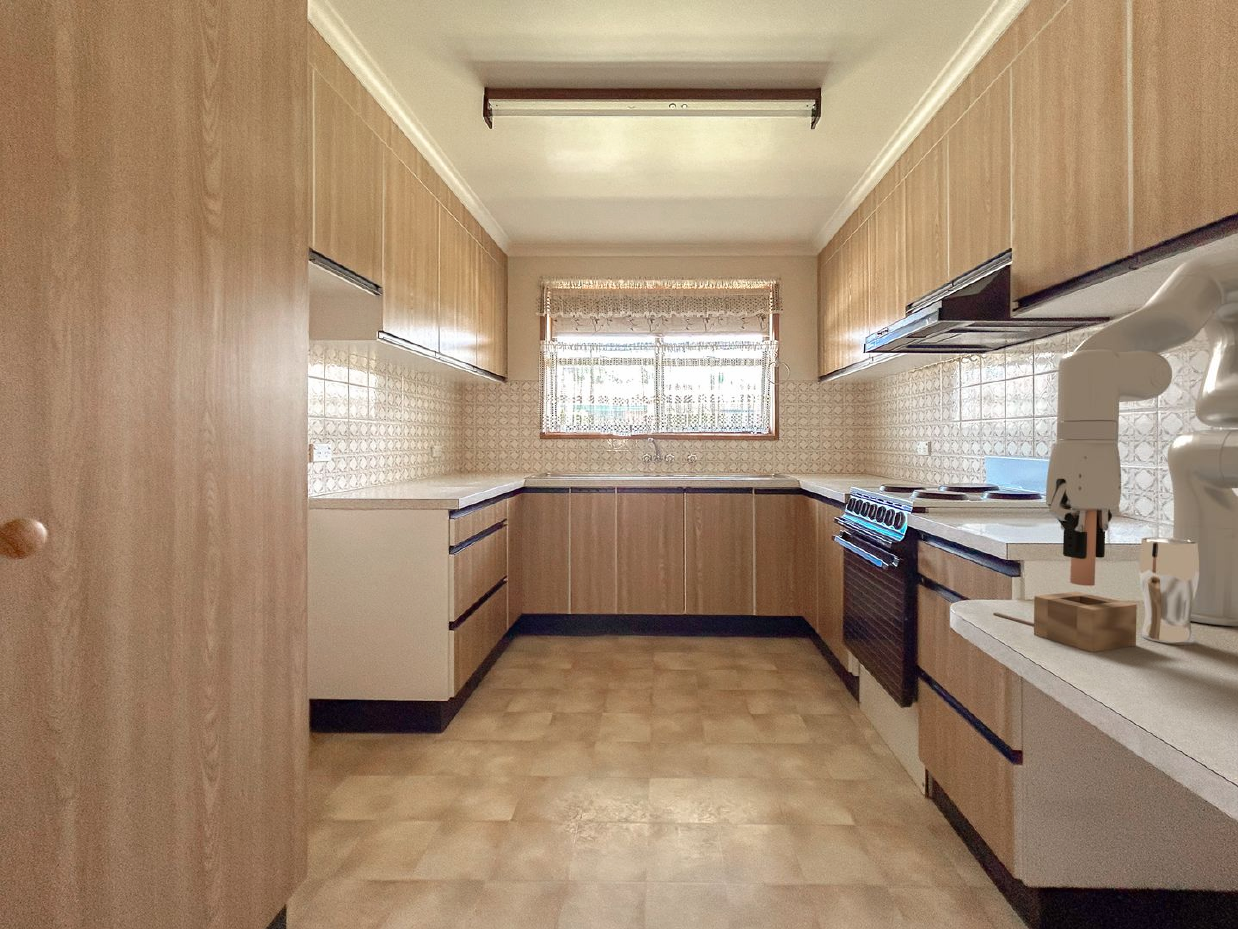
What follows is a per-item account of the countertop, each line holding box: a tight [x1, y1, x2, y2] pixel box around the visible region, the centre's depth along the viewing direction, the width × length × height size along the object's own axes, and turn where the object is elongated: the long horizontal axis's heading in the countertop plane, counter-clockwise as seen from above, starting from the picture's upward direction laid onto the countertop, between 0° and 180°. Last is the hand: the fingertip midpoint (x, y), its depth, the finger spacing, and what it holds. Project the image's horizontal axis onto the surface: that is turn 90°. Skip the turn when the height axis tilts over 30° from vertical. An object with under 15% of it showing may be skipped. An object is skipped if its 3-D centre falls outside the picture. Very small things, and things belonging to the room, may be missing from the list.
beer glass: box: [1138, 536, 1199, 646], centre depth 99 cm, size 7×7×15 cm
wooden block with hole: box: [1033, 591, 1138, 653], centre depth 99 cm, size 9×9×6 cm
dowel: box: [1069, 508, 1097, 587], centre depth 99 cm, size 3×3×12 cm
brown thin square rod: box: [992, 612, 1034, 627], centre depth 109 cm, size 1×10×1 cm, turn 19°
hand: (1083, 555), depth 99 cm, fingers closed on dowel, 3 cm apart
